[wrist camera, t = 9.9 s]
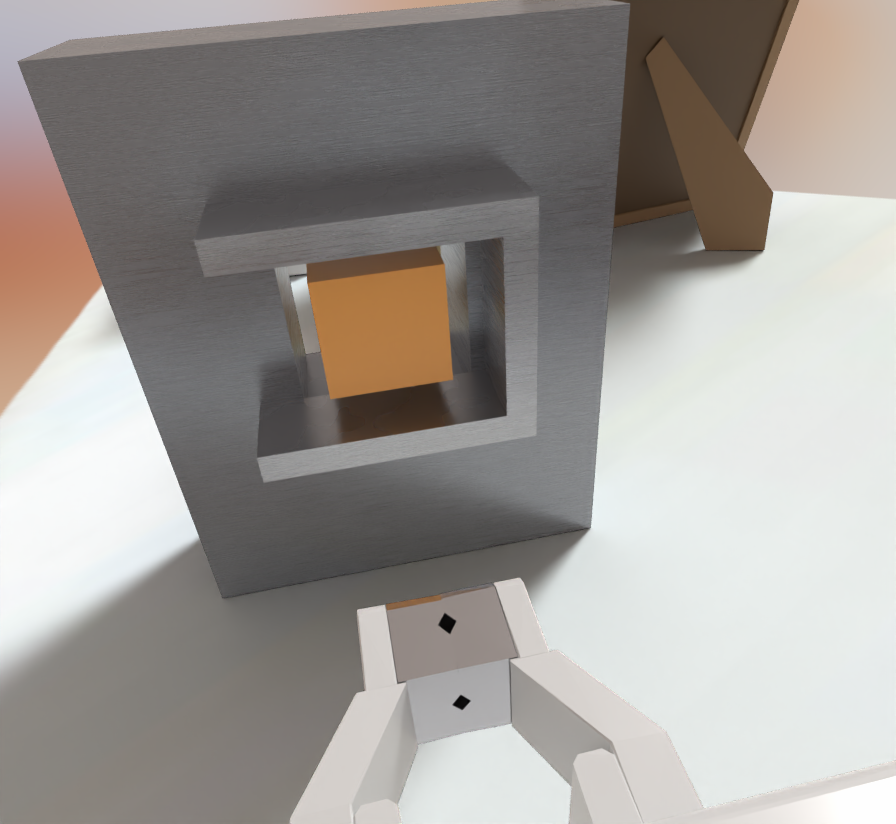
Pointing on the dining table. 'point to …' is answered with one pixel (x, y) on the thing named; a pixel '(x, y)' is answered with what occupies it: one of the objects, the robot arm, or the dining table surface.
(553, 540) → the dining table surface
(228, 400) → the panel
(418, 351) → the plunger
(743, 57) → the photo frame
